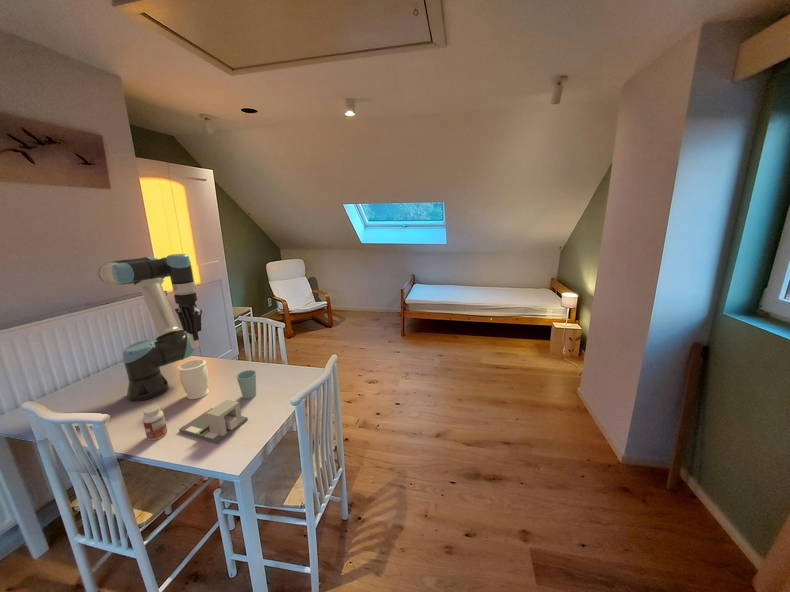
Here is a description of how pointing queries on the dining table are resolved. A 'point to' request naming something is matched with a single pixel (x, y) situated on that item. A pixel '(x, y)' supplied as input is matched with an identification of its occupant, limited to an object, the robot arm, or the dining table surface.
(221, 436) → the board
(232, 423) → the plunger
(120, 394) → the dining table surface
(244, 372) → the cup
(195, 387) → the jar
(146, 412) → the pill bottle
